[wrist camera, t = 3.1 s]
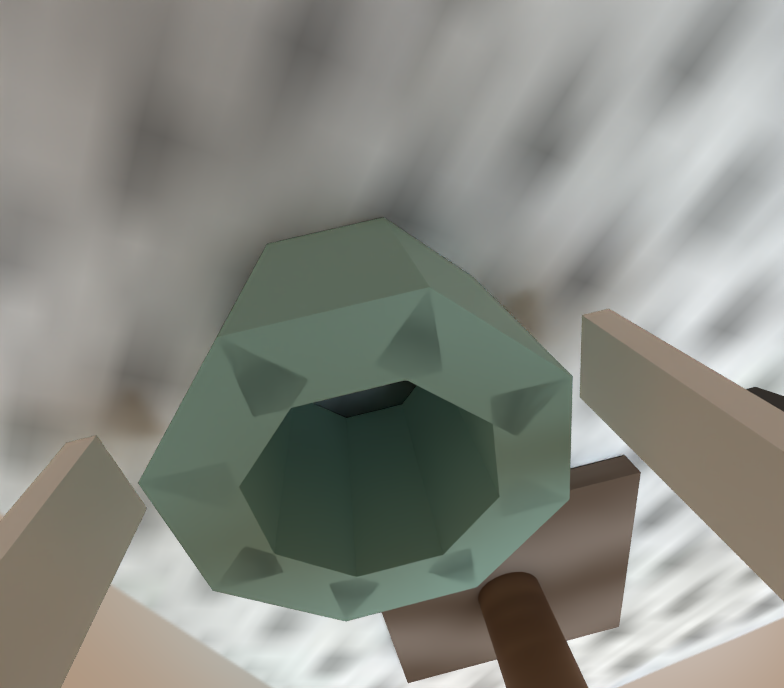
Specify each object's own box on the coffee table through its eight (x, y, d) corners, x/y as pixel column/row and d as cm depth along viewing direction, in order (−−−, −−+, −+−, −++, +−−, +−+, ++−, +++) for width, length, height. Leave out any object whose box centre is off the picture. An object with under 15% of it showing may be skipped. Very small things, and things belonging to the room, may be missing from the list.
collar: (183, 262, 12) (62, 372, 6) (464, 198, 12) (576, 252, 7) (277, 470, 15) (251, 646, 10) (487, 418, 16) (567, 563, 10)
